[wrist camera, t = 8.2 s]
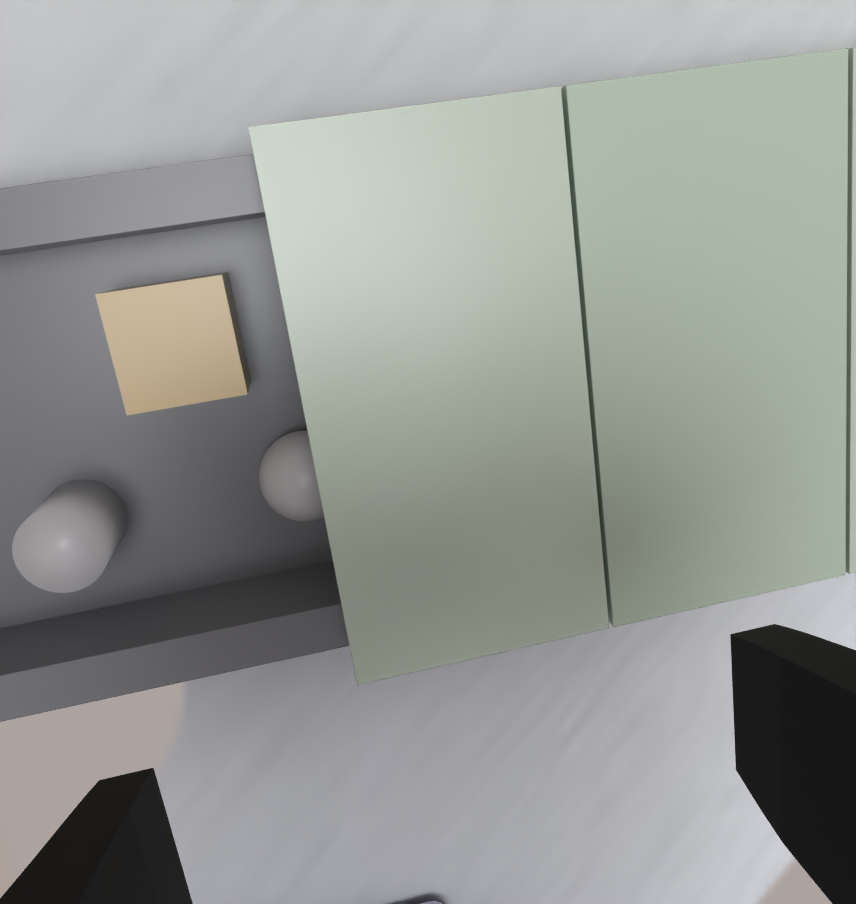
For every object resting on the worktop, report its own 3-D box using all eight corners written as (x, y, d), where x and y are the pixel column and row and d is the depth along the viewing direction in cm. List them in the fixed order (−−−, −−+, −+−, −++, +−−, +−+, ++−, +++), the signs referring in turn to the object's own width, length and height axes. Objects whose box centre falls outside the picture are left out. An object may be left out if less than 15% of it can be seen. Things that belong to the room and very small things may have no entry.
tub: (576, 538, 20) (623, 585, 18) (-70, 672, 18) (-135, 751, 16) (536, 131, 18) (584, 109, 15) (-230, 237, 16) (-345, 235, 13)
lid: (1031, 514, 19) (1211, 578, 15) (354, 664, 17) (371, 781, 13) (1069, 25, 16) (1303, -41, 12) (250, 133, 14) (236, 93, 10)
